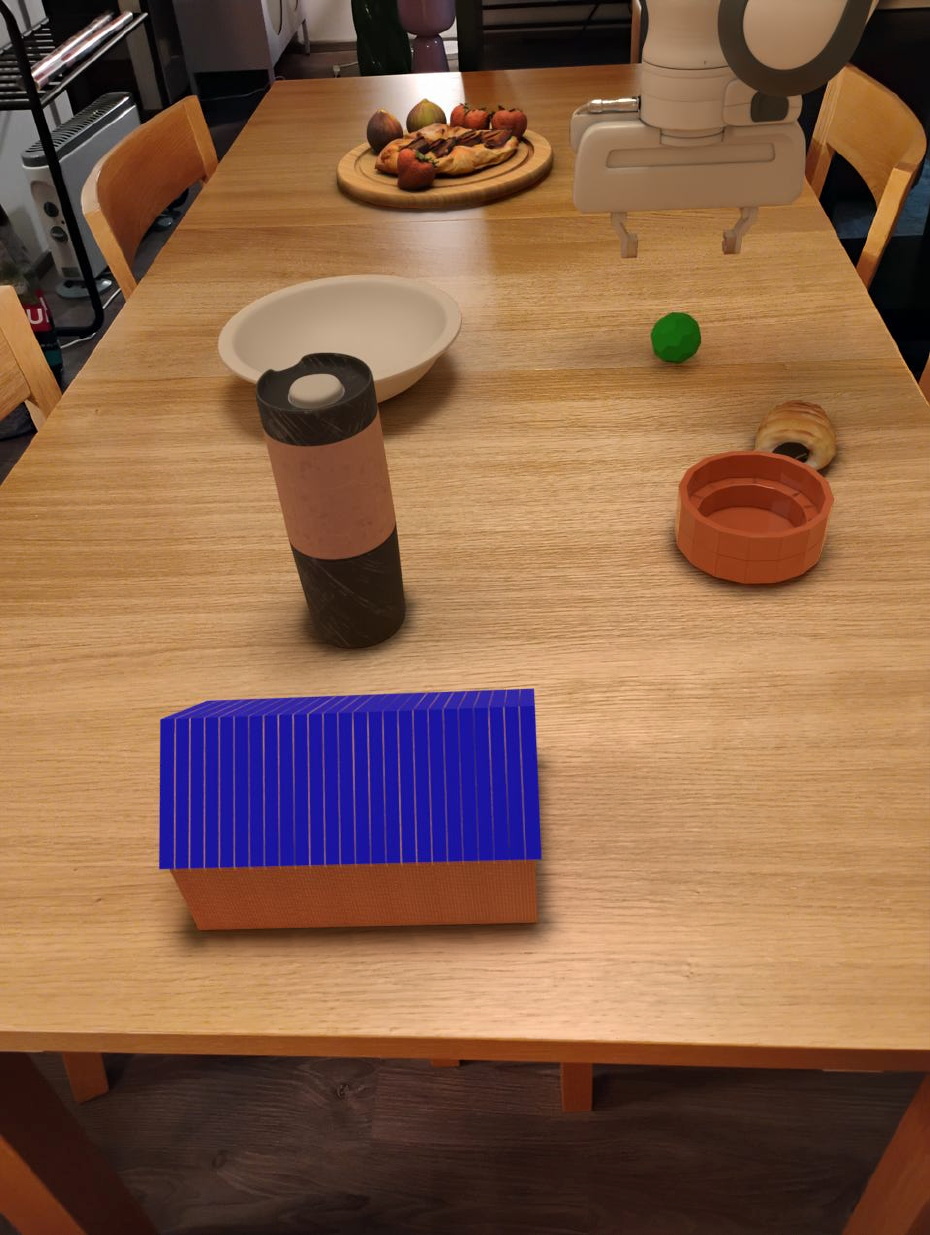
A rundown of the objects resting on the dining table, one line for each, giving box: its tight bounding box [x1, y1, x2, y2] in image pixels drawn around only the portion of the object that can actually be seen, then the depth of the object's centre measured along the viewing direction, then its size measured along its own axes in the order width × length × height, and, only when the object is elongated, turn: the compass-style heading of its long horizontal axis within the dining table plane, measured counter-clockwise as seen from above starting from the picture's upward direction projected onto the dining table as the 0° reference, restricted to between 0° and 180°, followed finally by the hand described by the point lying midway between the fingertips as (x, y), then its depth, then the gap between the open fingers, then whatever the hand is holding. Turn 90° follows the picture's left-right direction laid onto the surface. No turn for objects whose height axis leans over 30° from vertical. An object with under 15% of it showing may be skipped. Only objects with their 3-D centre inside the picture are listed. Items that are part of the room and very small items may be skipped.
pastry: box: [752, 399, 837, 471], centre depth 87 cm, size 9×7×4 cm
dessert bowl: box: [674, 450, 835, 584], centre depth 77 cm, size 11×11×5 cm
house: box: [158, 687, 542, 931], centre depth 56 cm, size 12×20×12 cm, turn 89°
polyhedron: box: [650, 311, 702, 365], centre depth 99 cm, size 5×5×5 cm
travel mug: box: [254, 353, 406, 649], centre depth 69 cm, size 8×8×20 cm
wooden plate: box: [335, 98, 555, 209], centre depth 144 cm, size 32×32×8 cm
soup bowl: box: [217, 273, 463, 404], centre depth 100 cm, size 24×24×7 cm
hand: (679, 254), depth 93 cm, fingers open, 8 cm apart
